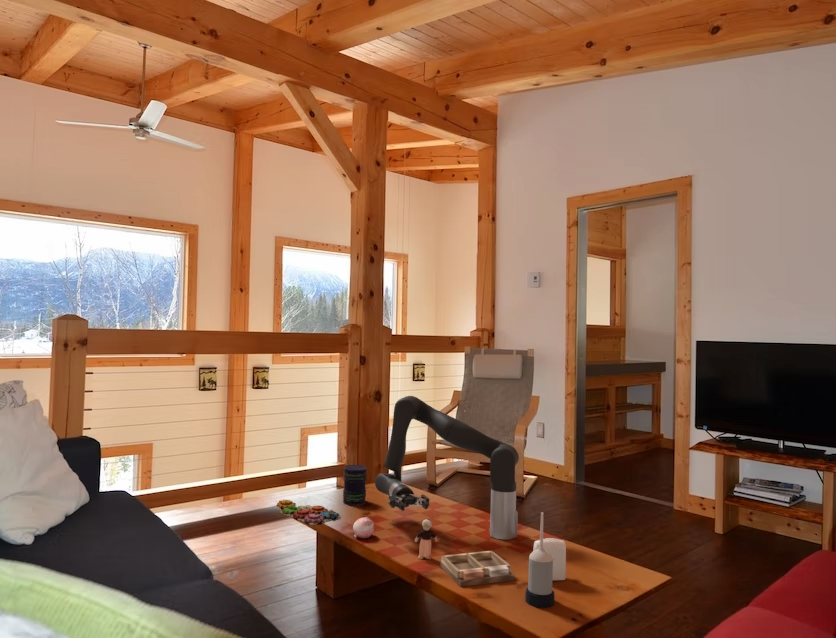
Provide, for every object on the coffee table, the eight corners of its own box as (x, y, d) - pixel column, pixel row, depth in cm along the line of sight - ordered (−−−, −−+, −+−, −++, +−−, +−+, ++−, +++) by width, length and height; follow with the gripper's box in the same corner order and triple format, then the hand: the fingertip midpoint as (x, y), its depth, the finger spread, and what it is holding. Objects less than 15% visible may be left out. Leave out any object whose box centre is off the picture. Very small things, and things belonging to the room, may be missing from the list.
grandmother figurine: (416, 560, 201) (417, 522, 201) (413, 556, 205) (414, 518, 205) (438, 559, 203) (439, 520, 203) (435, 554, 207) (436, 517, 207)
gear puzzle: (266, 509, 254) (266, 499, 254) (298, 501, 266) (298, 492, 266) (312, 527, 233) (312, 516, 233) (344, 518, 244) (345, 508, 244)
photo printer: (534, 582, 187) (535, 541, 187) (530, 576, 192) (531, 536, 192) (567, 581, 188) (568, 541, 188) (562, 575, 193) (564, 536, 193)
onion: (372, 543, 219) (369, 525, 217) (351, 542, 221) (348, 525, 219) (377, 529, 227) (374, 512, 225) (357, 529, 228) (354, 512, 226)
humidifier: (551, 595, 178) (554, 509, 178) (556, 608, 170) (559, 518, 170) (523, 594, 178) (525, 507, 179) (527, 607, 170) (529, 516, 170)
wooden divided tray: (491, 560, 203) (491, 550, 203) (514, 580, 188) (514, 568, 188) (440, 566, 197) (440, 555, 197) (460, 586, 182) (460, 574, 182)
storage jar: (357, 497, 273) (358, 463, 273) (370, 502, 265) (371, 468, 265) (338, 501, 266) (339, 466, 266) (350, 506, 259) (351, 471, 259)
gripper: (383, 485, 228) (396, 497, 212) (419, 483, 233) (434, 495, 217) (382, 505, 228) (395, 519, 212) (418, 503, 232) (433, 516, 217)
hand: (415, 507), depth 215 cm, fingers open, 8 cm apart
